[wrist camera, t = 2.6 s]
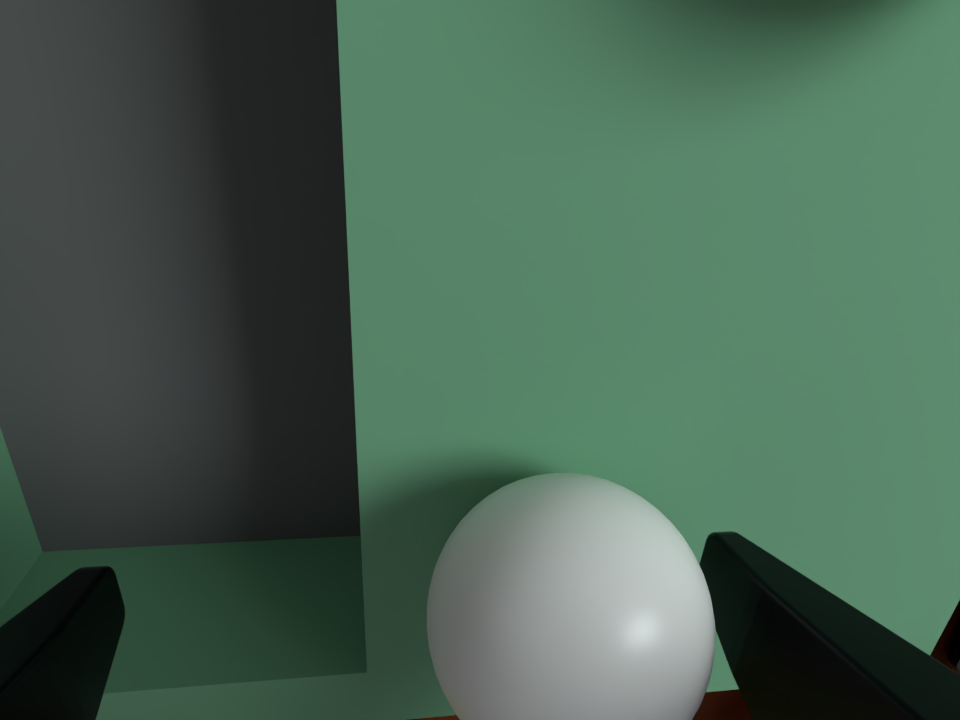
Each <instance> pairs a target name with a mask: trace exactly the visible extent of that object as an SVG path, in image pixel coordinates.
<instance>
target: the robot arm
mask: <svg viewBox="0 0 960 720" xmlns="http://www.w3.org/2000/svg"><path fill="white" fill-rule="evenodd" d="M699 566H700V568H701V570H702V572H703V574H704V577H705V580H706V583H707V586H708V589H709V593H710V596H711V601H712V607H713V613H714V619H715V630H716V632H717V635H718V638H719V640H720V643H721V646H722V649H723V651H724V654H725V657H726V660H727V662H728V665H729V667H730V670H731V672H732V675H733V677H734V679H735V681H736V684H737V686H738V688H739V690H740V692H741V694H742V696H743V698H744V701H745V703H746V705H747V707H748V709H749V711H750V713H751V715H752V717H753V719H754V720H960V674H958V673H956V672H955V671H953V670H952V669H950V668H949V667H947V666H946V665H944V664H942V663H941V662H939V661H938V660H936V659H935V658H933V657H931V656H930V655H928V654H927V653H925V652H924V651H922V650H920V649H919V648H917V647H916V646H914V645H913V644H911V643H909V642H908V641H906V640H905V639H903V638H902V637H900V636H898V635H897V634H895V633H894V632H892V631H891V630H889V629H888V628H886V627H884V626H883V625H881V624H880V623H878V622H877V621H875V620H873V619H872V618H870V617H869V616H867V615H866V614H864V613H862V612H861V611H859V610H858V609H856V608H855V607H853V606H851V605H850V604H848V603H847V602H845V601H844V600H842V599H841V598H839V597H837V596H836V595H834V594H833V593H831V592H830V591H828V590H826V589H825V588H823V587H822V586H820V585H819V584H817V583H815V582H814V581H812V580H811V579H809V578H808V577H806V576H804V575H803V574H801V573H800V572H798V571H797V570H795V569H794V568H792V567H790V566H789V565H787V564H786V563H784V562H783V561H781V560H779V559H778V558H776V557H775V556H773V555H772V554H770V553H768V552H767V551H765V550H764V549H762V548H761V547H759V546H757V545H756V544H754V543H753V542H751V541H750V540H748V539H746V538H745V537H743V536H742V535H740V534H738V533H737V532H733V531H724V532H713V533H710V534H709V535H708V537H707V539H706V542H705V545H704V549H703V553H702V556H701V560H700V563H699ZM124 620H125V606H124V602H123V599H122V595H121V591H120V588H119V584H118V581H117V577H116V574H115V571H114V570H113V569H112V568H111V567H109V566H93V567H82V568H79V569H77V570H75V571H73V572H72V573H71V574H69V575H68V576H67V577H65V578H64V579H63V580H61V581H60V582H59V583H57V584H56V585H55V586H53V587H52V588H51V589H49V590H48V591H47V592H45V593H44V594H43V595H41V596H40V597H39V598H37V599H36V600H35V601H33V602H32V603H31V604H30V605H28V606H27V607H26V608H24V609H23V610H22V611H20V612H19V613H18V614H16V615H15V616H14V617H12V618H11V619H10V620H8V621H7V622H6V623H4V624H3V625H2V626H0V720H96V717H97V714H98V711H99V707H100V704H101V700H102V697H103V694H104V690H105V687H106V683H107V680H108V677H109V673H110V670H111V666H112V663H113V660H114V656H115V653H116V649H117V646H118V642H119V639H120V636H121V632H122V629H123V625H124ZM947 659H948V660H949V661H950V662H951V663H952V665H953V666H954V667H955V668H956V669H957V670H959V671H960V631H959V633H958V635H957V637H956V638H955V640H954V642H953V644H952V646H951V647H950V649H949V651H948V653H947Z"/></svg>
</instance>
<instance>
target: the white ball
mask: <svg viewBox="0 0 960 720" xmlns="http://www.w3.org/2000/svg"><path fill="white" fill-rule="evenodd" d="M427 634H428V642H429V650H430V654H431V658H432V662H433V666H434V670H435V673H436V676H437V678H438V681H439V683H440V686H441V688H442V691H443V693H444V695H445V696H446V698H447V700H448V702H449V703H450V705H451V707H452V709H453V711H454V712H455V714H456V715H457V716H458V718H459V719H460V720H692V719H693V717H694V715H695V714H696V712H697V710H698V708H699V707H700V705H701V703H702V700H703V697H704V695H705V692H706V689H707V687H708V684H709V681H710V677H711V673H712V667H713V661H714V652H715V619H714V613H713V607H712V601H711V596H710V593H709V589H708V586H707V583H706V580H705V577H704V574H703V572H702V570H701V568H700V566H699V563H698V561H697V559H696V557H695V555H694V553H693V552H692V550H691V548H690V547H689V545H688V544H687V542H686V540H685V539H684V537H683V536H682V535H681V534H680V532H679V531H678V530H677V529H676V527H675V526H674V525H673V524H672V523H671V521H670V520H668V519H667V518H666V517H665V516H664V515H663V514H662V513H661V512H660V511H659V510H658V509H657V508H656V507H654V506H653V505H652V504H650V503H649V502H648V501H646V500H645V499H644V498H642V497H641V496H639V495H638V494H636V493H634V492H632V491H630V490H629V489H627V488H625V487H623V486H621V485H618V484H616V483H614V482H611V481H609V480H606V479H602V478H598V477H595V476H591V475H585V474H577V473H549V474H541V475H535V476H531V477H528V478H524V479H520V480H517V481H515V482H513V483H510V484H508V485H506V486H503V487H502V488H500V489H498V490H497V491H495V492H493V493H492V494H490V495H488V496H487V497H486V498H485V499H483V500H482V501H481V502H480V503H478V504H477V505H476V506H475V507H473V508H472V509H471V510H470V511H469V513H468V514H467V515H466V516H465V517H464V518H463V519H462V520H461V521H460V522H459V524H458V525H457V527H456V528H455V529H454V531H453V532H452V534H451V535H450V537H449V538H448V540H447V542H446V544H445V546H444V548H443V550H442V552H441V554H440V556H439V558H438V560H437V563H436V566H435V569H434V572H433V576H432V579H431V584H430V588H429V594H428V602H427Z"/></svg>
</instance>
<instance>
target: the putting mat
mask: <svg viewBox="0 0 960 720" xmlns="http://www.w3.org/2000/svg"><path fill="white" fill-rule="evenodd" d="M549 473H577V474H585V475H591V476H595V477H598V478H602V479H606V480H609V481H611V482H614V483H616V484H618V485H621V486H623V487H625V488H627V489H629V490H630V491H632V492H634V493H636V494H638V495H639V496H641V497H642V498H644V499H645V500H646V501H648V502H649V503H650V504H652V505H653V506H654V507H656V508H657V509H658V510H659V511H660V512H661V513H662V514H663V515H664V516H665V517H666V518H667V519H668V520H670V521H671V523H672V524H673V525H674V526H675V527H676V529H677V530H678V531H679V532H680V534H681V535H682V536H683V537H684V539H685V540H686V542H687V544H688V545H689V547H690V548H691V550H692V552H693V553H694V555H695V557H696V559H697V561H698V563H700V560H701V556H702V553H703V549H704V545H705V542H706V539H707V537H708V535H709V534H710V533H713V532H724V531H733V532H737V533H738V534H740V535H742V536H743V537H745V538H746V539H748V540H750V541H751V542H753V543H754V544H756V545H757V546H759V547H761V548H762V549H764V550H765V551H767V552H768V553H770V554H772V555H773V556H775V557H776V558H778V559H779V560H781V561H783V562H784V563H786V564H787V565H789V566H790V567H792V568H794V569H795V570H797V571H798V572H800V573H801V574H803V575H804V576H806V577H808V578H809V579H811V580H812V581H814V582H815V583H817V584H819V585H820V586H822V587H823V588H825V589H826V590H828V591H830V592H831V593H833V594H834V595H836V596H837V597H839V598H841V599H842V600H844V601H845V602H847V603H848V604H850V605H851V606H853V607H855V608H856V609H858V610H859V611H861V612H862V613H864V614H866V615H867V616H869V617H870V618H872V619H873V620H875V621H877V622H878V623H880V624H881V625H883V626H884V627H886V628H888V629H889V630H891V631H892V632H894V633H895V634H897V635H898V636H900V637H902V638H903V639H905V640H906V641H908V642H909V643H911V644H913V645H914V646H916V647H917V648H919V649H920V650H922V651H924V652H925V653H927V654H928V655H931V653H932V651H933V649H934V647H935V645H936V643H937V641H938V640H939V638H940V636H941V634H942V632H943V630H944V628H945V627H946V625H947V623H948V621H949V619H950V617H951V615H952V613H953V612H954V610H955V608H956V606H957V604H958V602H959V600H960V0H0V626H2V625H3V624H4V623H6V622H7V621H8V620H10V619H11V618H12V617H14V616H15V615H16V614H18V613H19V612H20V611H22V610H23V609H24V608H26V607H27V606H28V605H30V604H31V603H32V602H33V601H35V600H36V599H37V598H39V597H40V596H41V595H43V594H44V593H45V592H47V591H48V590H49V589H51V588H52V587H53V586H55V585H56V584H57V583H59V582H60V581H61V580H63V579H64V578H65V577H67V576H68V575H69V574H71V573H72V572H73V571H75V570H77V569H79V568H82V567H93V566H109V567H111V568H112V569H113V570H114V571H115V574H116V577H117V581H118V584H119V588H120V591H121V595H122V599H123V602H124V606H125V620H124V625H123V629H122V632H121V636H120V639H119V642H118V646H117V649H116V653H115V656H114V660H113V663H112V666H111V670H110V673H109V677H108V680H107V683H106V687H105V690H104V694H103V697H102V700H101V704H100V707H99V711H98V714H97V717H96V720H407V719H418V718H429V717H440V716H451V715H456V714H455V712H454V711H453V709H452V707H451V705H450V703H449V702H448V700H447V698H446V696H445V695H444V693H443V691H442V688H441V686H440V683H439V681H438V678H437V676H436V673H435V670H434V666H433V662H432V658H431V654H430V650H429V642H428V634H427V602H428V594H429V588H430V584H431V579H432V576H433V572H434V569H435V566H436V563H437V560H438V558H439V556H440V554H441V552H442V550H443V548H444V546H445V544H446V542H447V540H448V538H449V537H450V535H451V534H452V532H453V531H454V529H455V528H456V527H457V525H458V524H459V522H460V521H461V520H462V519H463V518H464V517H465V516H466V515H467V514H468V513H469V511H470V510H471V509H472V508H473V507H475V506H476V505H477V504H478V503H480V502H481V501H482V500H483V499H485V498H486V497H487V496H488V495H490V494H492V493H493V492H495V491H497V490H498V489H500V488H502V487H503V486H506V485H508V484H510V483H513V482H515V481H517V480H520V479H524V478H528V477H531V476H535V475H541V474H549ZM736 689H739V688H738V686H737V684H736V681H735V679H734V677H733V675H732V672H731V670H730V667H729V665H728V662H727V660H726V657H725V654H724V651H723V649H722V646H721V643H720V640H719V638H718V635H717V632H716V630H715V652H714V661H713V667H712V673H711V677H710V681H709V684H708V687H707V689H706V692H714V691H725V690H736Z"/></svg>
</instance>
